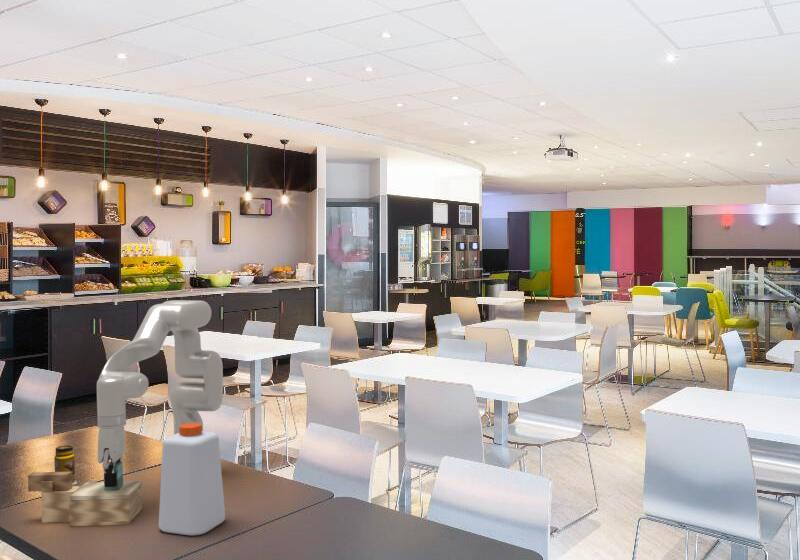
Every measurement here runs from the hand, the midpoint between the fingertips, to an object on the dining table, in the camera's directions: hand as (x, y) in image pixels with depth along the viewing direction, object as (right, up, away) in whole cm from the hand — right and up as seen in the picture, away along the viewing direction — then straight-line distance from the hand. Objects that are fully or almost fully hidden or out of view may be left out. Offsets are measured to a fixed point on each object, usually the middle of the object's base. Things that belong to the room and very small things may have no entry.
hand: (113, 483), depth 211 cm
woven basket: (-6, -10, 0) cm, 12 cm away
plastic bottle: (+24, -10, -7) cm, 27 cm away
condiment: (-30, -9, +33) cm, 45 cm away
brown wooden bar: (-18, -1, -1) cm, 18 cm away
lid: (-2, -4, 0) cm, 5 cm away
